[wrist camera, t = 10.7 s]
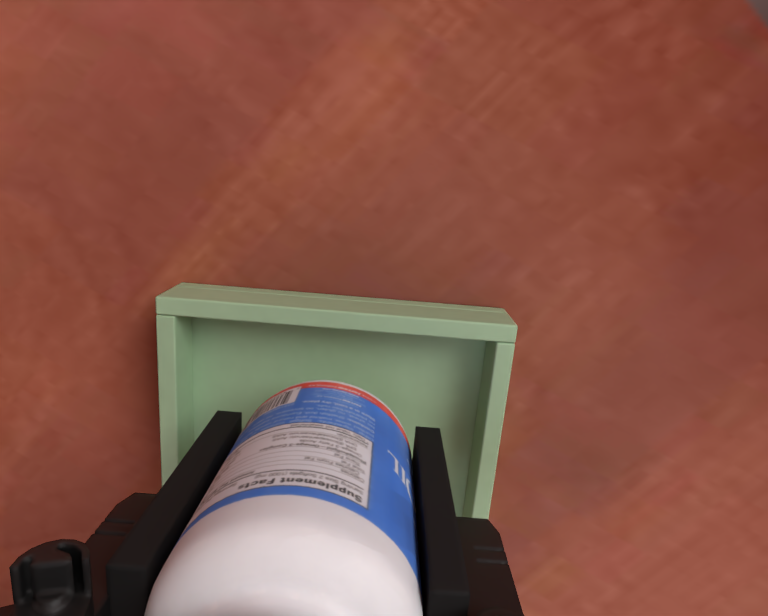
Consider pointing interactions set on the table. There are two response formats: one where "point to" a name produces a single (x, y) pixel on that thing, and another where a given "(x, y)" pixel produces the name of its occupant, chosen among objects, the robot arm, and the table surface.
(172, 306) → the tray
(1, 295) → the table surface
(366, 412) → the pill bottle
